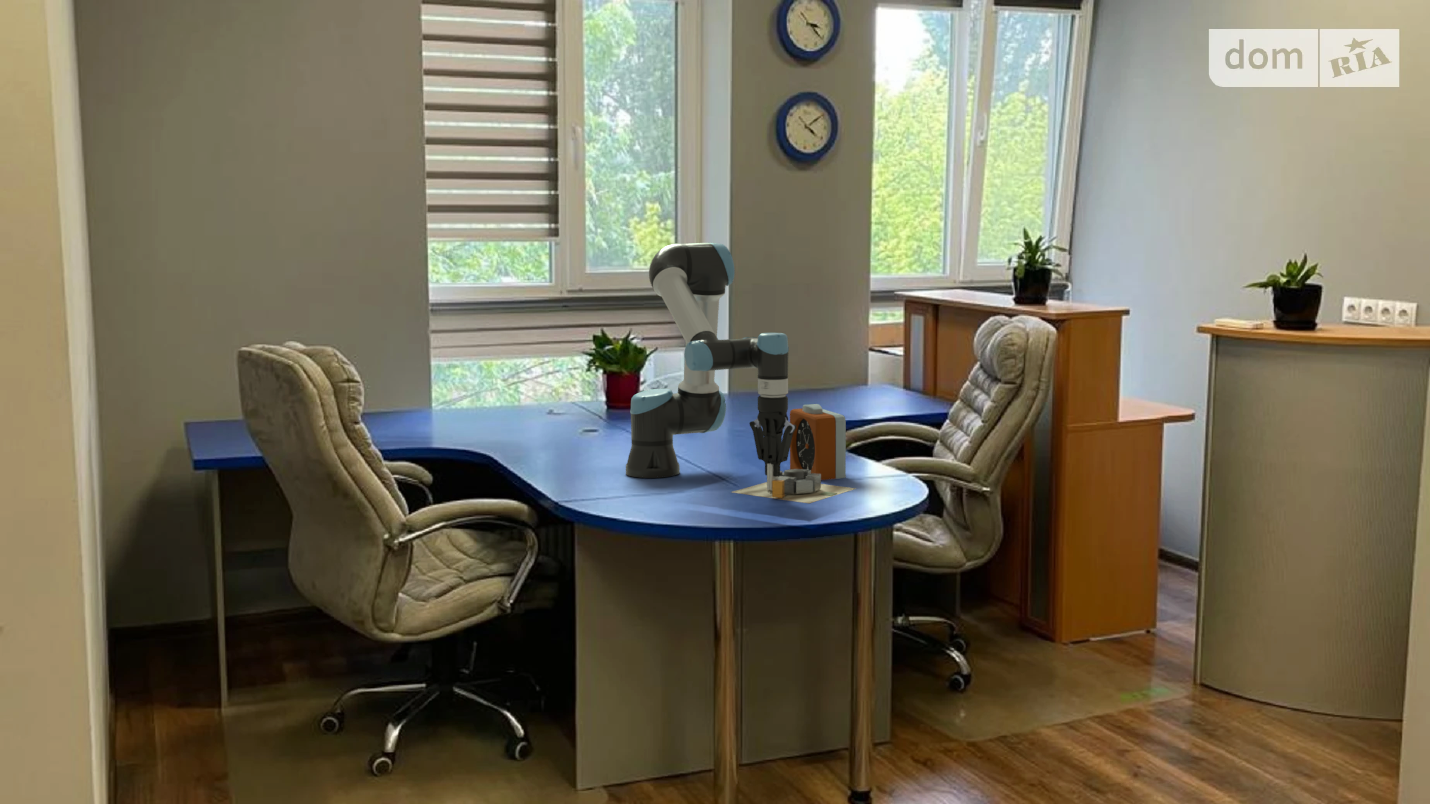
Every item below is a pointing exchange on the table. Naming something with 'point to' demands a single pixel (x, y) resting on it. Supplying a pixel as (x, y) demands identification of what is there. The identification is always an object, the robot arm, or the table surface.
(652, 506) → the table surface
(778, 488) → the grey handled ring
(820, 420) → the alarm clock
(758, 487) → the collar base
